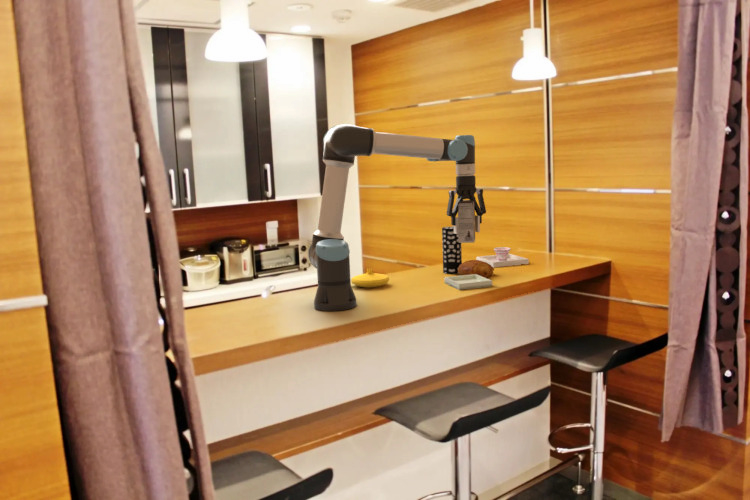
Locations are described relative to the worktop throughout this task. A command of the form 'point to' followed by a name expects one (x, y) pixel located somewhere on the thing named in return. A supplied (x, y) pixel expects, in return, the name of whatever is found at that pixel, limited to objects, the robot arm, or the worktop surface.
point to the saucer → (517, 261)
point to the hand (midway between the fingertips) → (466, 232)
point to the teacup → (501, 254)
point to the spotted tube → (451, 251)
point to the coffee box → (466, 221)
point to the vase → (370, 279)
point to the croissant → (476, 268)
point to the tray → (468, 281)
